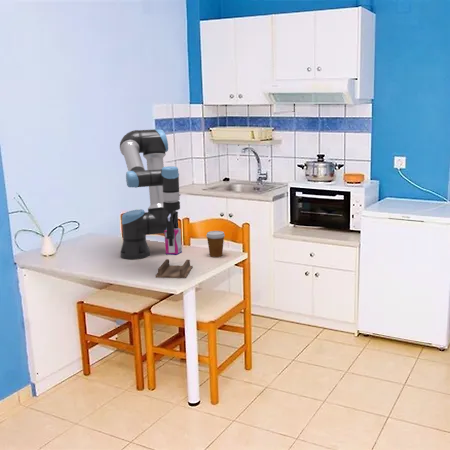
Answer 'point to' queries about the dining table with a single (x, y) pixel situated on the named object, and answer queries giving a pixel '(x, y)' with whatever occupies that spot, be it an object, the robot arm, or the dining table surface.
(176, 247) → the supplement box
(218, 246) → the disposable coffee cup
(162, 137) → the robot arm
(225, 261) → the dining table surface
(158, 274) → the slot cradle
